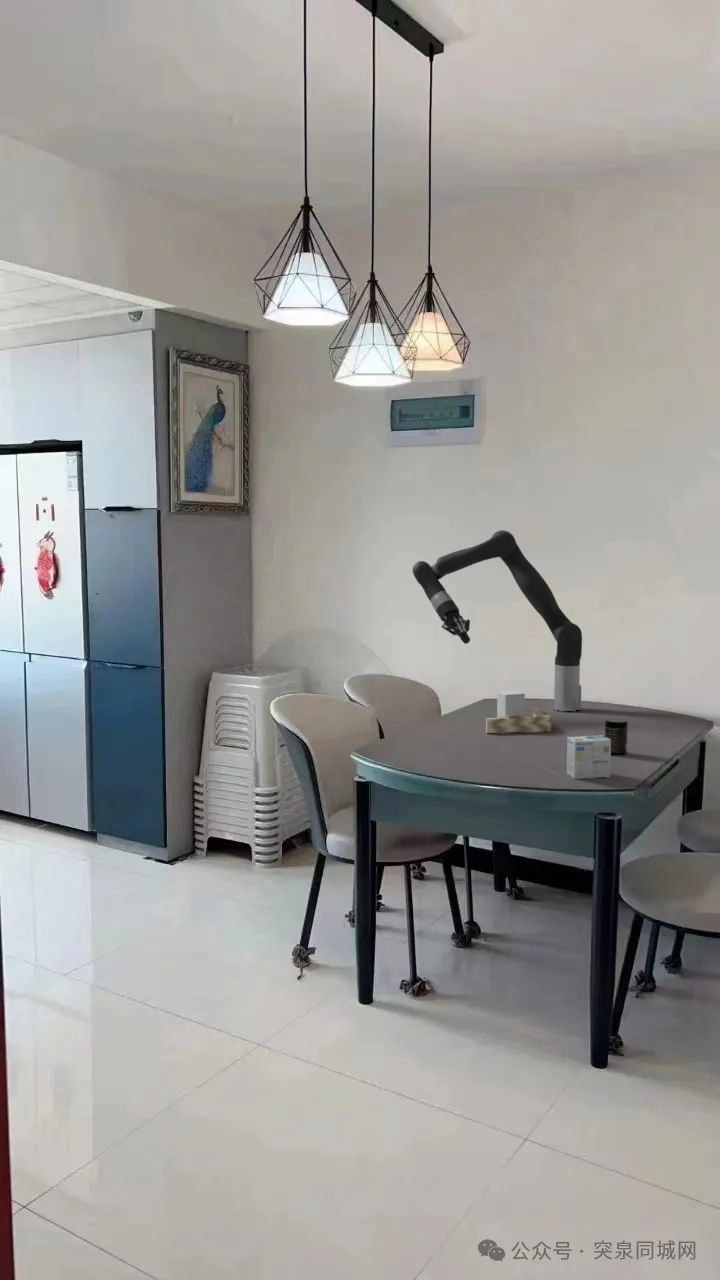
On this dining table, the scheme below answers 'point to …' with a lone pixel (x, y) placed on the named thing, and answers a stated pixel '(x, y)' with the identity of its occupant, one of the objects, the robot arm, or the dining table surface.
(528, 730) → the wooden corner bracket
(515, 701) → the supplement box
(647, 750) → the dining table surface
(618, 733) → the supplement container
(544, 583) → the robot arm
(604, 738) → the light bulb box
